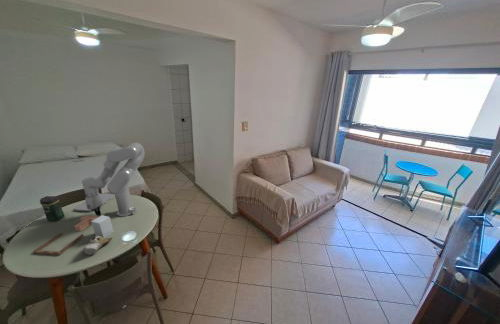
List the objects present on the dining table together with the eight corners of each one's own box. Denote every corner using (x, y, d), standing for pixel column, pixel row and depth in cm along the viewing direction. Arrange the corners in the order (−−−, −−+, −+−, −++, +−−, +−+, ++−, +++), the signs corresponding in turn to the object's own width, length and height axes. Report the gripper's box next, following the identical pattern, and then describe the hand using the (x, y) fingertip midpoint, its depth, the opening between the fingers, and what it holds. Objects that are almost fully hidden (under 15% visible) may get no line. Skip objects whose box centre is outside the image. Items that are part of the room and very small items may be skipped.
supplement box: (114, 232, 132) (110, 216, 128) (103, 239, 125) (99, 223, 121) (106, 229, 134) (102, 214, 130) (95, 237, 127) (90, 221, 123)
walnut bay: (83, 236, 128) (83, 234, 127) (59, 255, 113) (58, 253, 112) (60, 234, 129) (60, 232, 128) (33, 253, 114) (32, 251, 113)
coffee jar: (67, 216, 148) (59, 195, 141) (56, 222, 140) (48, 200, 134) (56, 214, 148) (48, 194, 142) (45, 221, 141) (36, 199, 135)
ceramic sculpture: (74, 245, 109) (95, 229, 123) (78, 257, 111) (98, 240, 126) (93, 246, 109) (111, 229, 123) (96, 258, 111) (114, 240, 126)
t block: (99, 220, 144) (97, 216, 142) (85, 231, 132) (83, 226, 131) (86, 219, 144) (85, 215, 143) (71, 230, 133) (69, 225, 131)
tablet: (73, 211, 154) (72, 209, 153) (99, 195, 178) (99, 193, 177) (92, 212, 153) (92, 210, 152) (116, 196, 177) (116, 194, 176)
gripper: (95, 188, 150) (101, 208, 156) (78, 198, 136) (85, 220, 142) (105, 189, 149) (110, 209, 155) (88, 199, 135) (95, 220, 141)
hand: (98, 214), depth 149 cm, fingers closed
